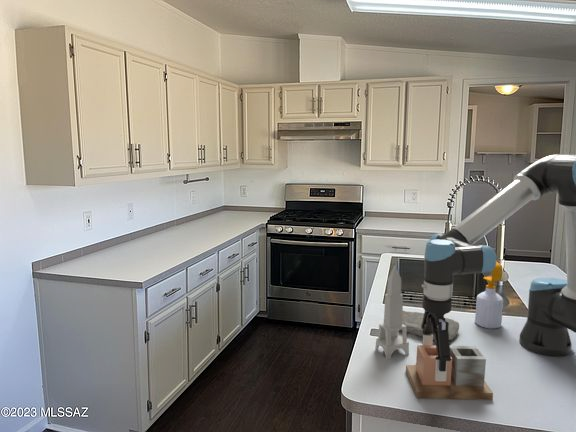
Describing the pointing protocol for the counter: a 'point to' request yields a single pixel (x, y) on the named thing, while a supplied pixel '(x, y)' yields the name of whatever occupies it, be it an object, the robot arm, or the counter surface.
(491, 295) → the spray bottle
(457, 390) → the pin board
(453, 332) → the stone
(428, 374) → the orange hollow cube
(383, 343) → the sculpture
